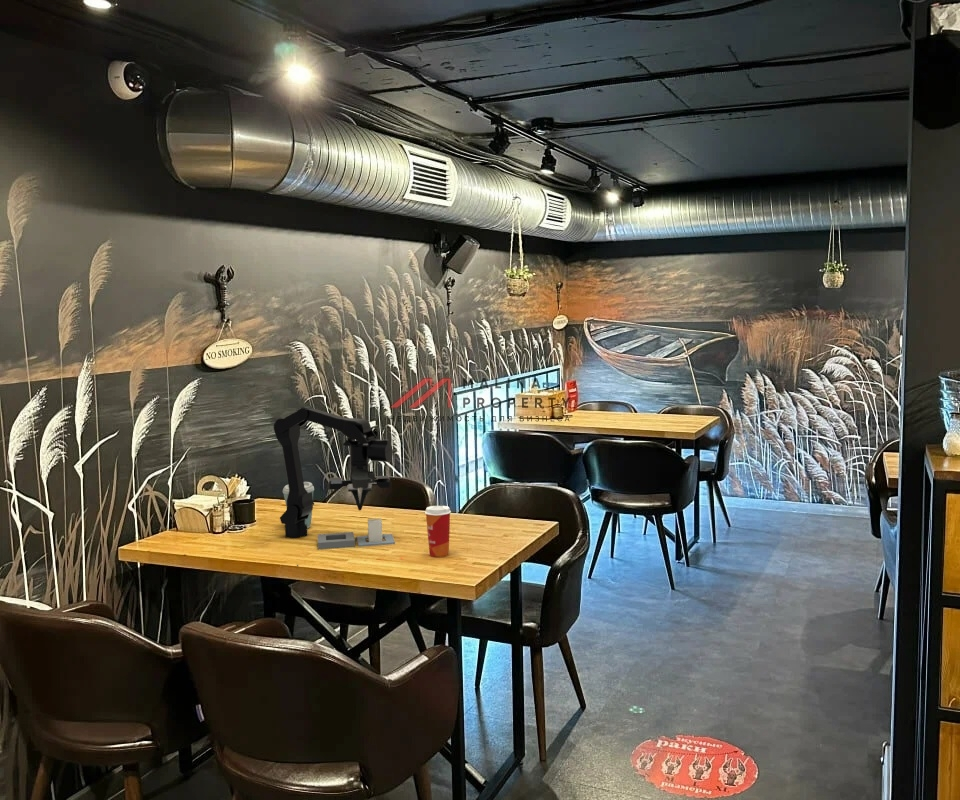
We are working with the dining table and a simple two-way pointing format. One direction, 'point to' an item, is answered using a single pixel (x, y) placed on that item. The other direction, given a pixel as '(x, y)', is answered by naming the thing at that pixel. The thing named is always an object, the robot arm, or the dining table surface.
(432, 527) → the paper cup
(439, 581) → the dining table surface
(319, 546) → the raised dock
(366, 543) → the low dock
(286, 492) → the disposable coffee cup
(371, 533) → the plug
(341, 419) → the robot arm
